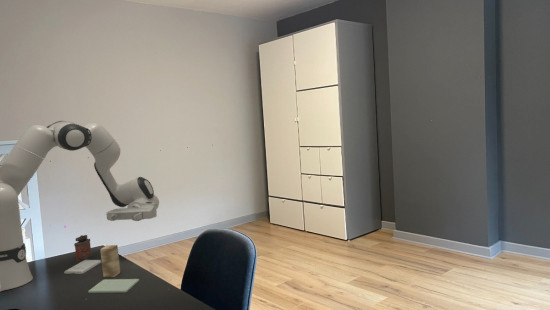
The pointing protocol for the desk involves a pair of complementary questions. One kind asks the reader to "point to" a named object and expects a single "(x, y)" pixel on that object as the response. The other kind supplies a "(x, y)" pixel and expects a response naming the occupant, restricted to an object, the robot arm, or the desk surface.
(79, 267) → the external hard drive
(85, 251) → the lighter
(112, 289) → the mat
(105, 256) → the oak block
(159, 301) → the desk surface
